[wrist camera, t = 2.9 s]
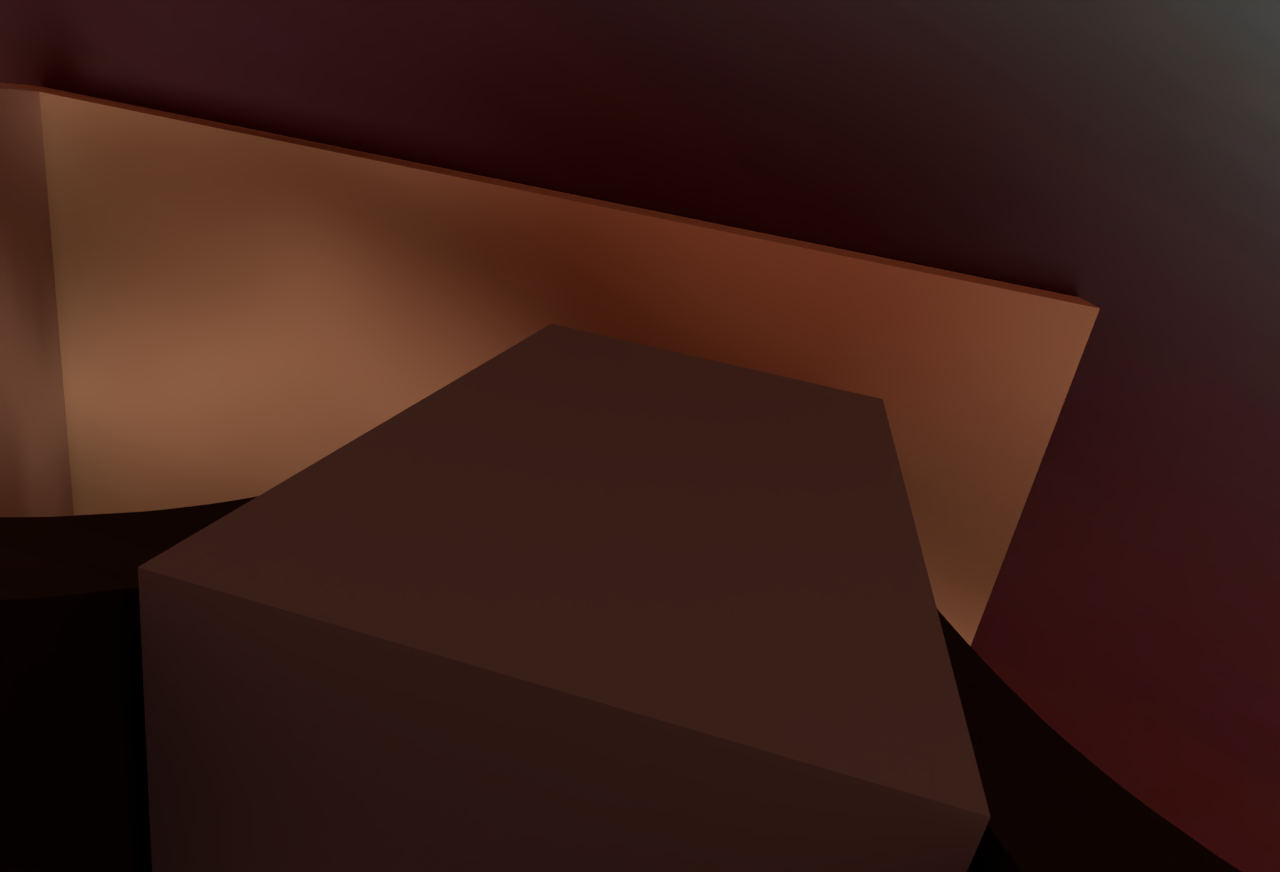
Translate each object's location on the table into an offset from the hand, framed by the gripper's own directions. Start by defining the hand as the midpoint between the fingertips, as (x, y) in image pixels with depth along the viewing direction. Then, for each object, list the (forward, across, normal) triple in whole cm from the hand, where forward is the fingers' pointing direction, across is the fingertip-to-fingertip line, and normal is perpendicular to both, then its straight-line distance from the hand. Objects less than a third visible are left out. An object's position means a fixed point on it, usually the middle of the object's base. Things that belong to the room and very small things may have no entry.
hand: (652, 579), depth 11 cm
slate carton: (+2, 0, 0) cm, 2 cm away
